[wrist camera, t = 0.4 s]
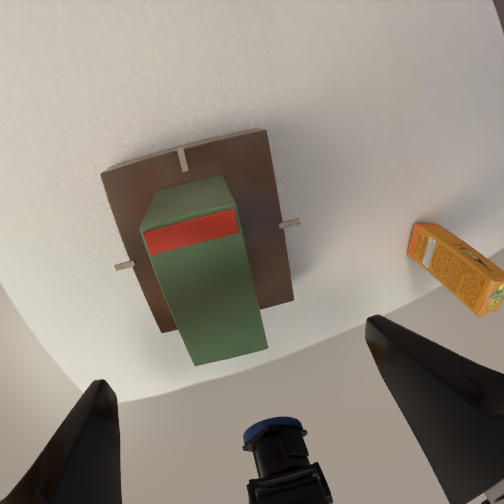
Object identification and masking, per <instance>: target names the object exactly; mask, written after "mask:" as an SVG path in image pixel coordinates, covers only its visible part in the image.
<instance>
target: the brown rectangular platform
mask: <svg viewBox="0 0 504 504" xmlns="http://www.w3.org/2000/svg"><path fill="white" fill-rule="evenodd" d="M221 174H222V175H223V177H224V179H225V181H226V183H227V185H228V187H229V190H230V192H231V194H232V196H233V198H234V200H235V203H236V206H237V211H238V215H239V220H240V224H241V229H242V233H243V238H244V242H245V247H246V251H247V256H248V260H249V265H250V269H251V274H252V278H253V283H254V287H255V292H256V296H257V301H258V305H259V310H260V309H264V308H268V307H272V306H275V305H279V304H283V303H286V302H290V301H293V300H294V295H293V288H292V281H291V275H290V268H289V261H288V255H287V248H286V242H285V235H284V229H283V228H285V227H290V226H294V225H298V224H301V223H300V218H297V219H293V220H289V221H285V222H282V217H281V210H280V204H279V198H278V193H277V187H276V181H275V175H274V169H273V164H272V158H271V153H270V147H269V142H268V136H267V131H266V130H263V129H258V128H256V129H251V130H246V131H241V132H236V133H232V134H227V135H223V136H218V137H214V138H210V139H205V140H201V141H197V142H193V143H189V144H185V145H182V146H178V147H174V148H171V149H167V150H163V151H160V152H156V153H153V154H150V155H146V156H143V157H140V158H137V159H133V160H130V161H127V162H124V163H121V164H118V165H115V166H112V167H110V168H109V169H107V170H106V171H104V172H103V173H101V178H102V182H103V185H104V188H105V191H106V194H107V198H108V201H109V204H110V207H111V210H112V213H113V216H114V218H115V221H116V224H117V227H118V230H119V233H120V235H121V238H122V241H123V243H124V246H125V249H126V251H127V254H128V257H129V259H130V261H128V262H124V263H120V264H117V265H115V269H116V271H117V270H121V269H125V268H128V267H133V269H134V272H135V274H136V277H137V279H138V281H139V284H140V286H141V289H142V291H143V293H144V296H145V298H146V300H147V302H148V305H149V307H150V309H151V311H152V314H153V316H154V318H155V320H156V322H157V325H158V327H159V329H160V331H161V333H165V332H170V331H174V330H178V328H177V325H176V323H175V321H174V318H173V316H172V314H171V311H170V309H169V306H168V304H167V302H166V299H165V297H164V294H163V292H162V289H161V287H160V284H159V281H158V279H157V276H156V274H155V271H154V268H153V266H152V263H151V260H150V258H149V255H148V252H147V249H146V247H145V244H144V241H143V238H142V235H141V232H140V229H139V227H140V225H141V223H142V221H143V218H144V216H145V214H146V212H147V210H148V208H149V205H150V203H151V201H152V199H153V197H154V195H155V193H156V192H157V191H160V190H164V189H167V188H171V187H174V186H178V185H182V184H186V183H189V182H193V181H197V180H201V179H205V178H209V177H213V176H217V175H221Z"/></svg>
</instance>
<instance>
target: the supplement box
mask: <svg viewBox="0 0 504 504" xmlns="http://www.w3.org/2000/svg"><path fill="white" fill-rule="evenodd" d="M407 255H409V256H410V257H411V258H413V259H414V260H415V261H416V262H418V263H419V264H420V265H421V266H422V267H423V268H425V269H426V270H427V271H428V272H429V273H430V274H431V275H433V276H434V277H435V278H436V279H437V280H438V281H440V282H441V283H442V284H443V285H444V286H445V287H446V288H447V289H449V290H450V291H451V292H452V293H453V294H454V295H455V296H457V298H458V299H460V300H461V301H462V302H463V303H464V304H465V305H466V306H467V307H468V308H469V309H470V310H471V311H472V312H473V313H474V314H475V315H476V316H477V317H479V316H482V315H484V314H488V313H490V312H493V311H496V310H497V309H498V308H499V306H500V304H501V302H502V301H503V299H504V272H503V271H502V270H501V269H500V268H499V267H497V266H496V265H495V264H494V263H492V262H491V261H490V260H488V259H487V258H486V257H484V256H483V255H482V254H480V253H479V252H478V251H476V250H475V249H474V248H472V247H471V246H469V245H468V244H467V243H465V242H464V241H462V240H461V239H459V238H458V237H457V236H455V235H454V234H452V233H451V232H449V231H448V230H446V229H445V228H443V227H442V226H440V225H438V224H430V223H415V224H414V226H413V230H412V233H411V237H410V242H409V246H408V250H407Z"/></svg>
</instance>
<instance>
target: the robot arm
mask: <svg viewBox="0 0 504 504" xmlns="http://www.w3.org/2000/svg"><path fill="white" fill-rule="evenodd" d="M365 339H366V342H367V344H368V347H369V349H370V351H371V353H372V356H373V358H374V360H375V363H376V365H377V367H378V369H379V372H380V374H381V376H382V378H383V379H384V382H385V383H386V385H387V387H388V389H389V390H390V392H391V394H392V396H393V397H394V399H395V401H396V402H397V404H398V406H399V408H400V410H401V411H402V413H403V415H404V416H405V418H406V420H407V422H408V424H409V426H410V428H411V429H412V431H413V433H414V435H415V437H416V439H417V440H418V442H419V444H420V446H421V448H422V450H423V451H424V454H425V455H426V457H427V459H428V461H429V463H430V465H431V467H432V469H433V471H434V473H435V475H436V477H437V479H438V481H439V483H440V485H441V487H442V489H443V491H444V493H445V495H446V497H447V499H448V500H449V503H450V504H467V503H468V502H470V501H471V500H473V499H475V498H476V497H477V496H479V495H481V494H482V493H485V495H486V497H487V499H486V500H484V501H483V502H482V503H481V504H504V374H503V373H500V372H497V371H495V370H492V369H489V368H487V367H485V366H482V365H479V364H477V363H475V362H473V361H471V360H469V359H467V358H465V357H463V356H459V355H458V354H456V353H455V352H453V351H451V350H449V349H447V348H445V347H443V346H441V345H439V344H437V343H435V342H433V341H431V340H429V339H427V338H425V337H423V336H421V335H418V334H417V333H415V332H413V331H411V330H409V329H407V328H405V327H403V326H401V325H399V324H397V323H395V322H393V321H391V320H389V319H387V318H385V317H383V316H381V315H374V316H371V317H368V318H367V320H366V329H365ZM305 435H307V431H306V430H302V429H295V428H289V427H283V426H277V425H268V426H267V427H266V428H265V429H263V430H262V431H261V432H260V433H259V434H258V435H256V436H255V437H254V438H253V439H251V440H250V441H249V442H248V443H247V444H245V445H244V446H243V450H244V451H250V452H253V455H254V459H255V464H256V468H257V472H258V476H259V478H258V479H251V480H249V484H248V485H247V490H248V495H249V504H333V500H332V496H331V492H330V489H329V487H328V484H327V482H326V480H325V477H324V475H323V473H322V470H321V468H320V466H319V463H318V462H315V463H314V464H311V465H310V463H309V460H308V457H307V456H309V453H308V451H307V448H306V445H305V442H304V439H303V437H304V436H305ZM0 504H122V496H121V472H120V429H119V418H118V405H117V397H116V394H115V392H114V391H113V390H112V388H111V387H110V386H109V384H108V383H107V382H106V381H105V380H103V379H101V380H94V381H93V382H92V383H91V384H90V386H89V387H88V388H87V390H86V391H85V392H84V394H83V395H82V396H81V398H80V399H79V401H78V402H77V403H76V405H75V406H74V407H73V409H72V410H71V411H70V413H69V414H68V415H67V417H66V418H65V420H64V421H63V422H62V424H61V425H60V427H59V428H58V429H57V431H56V432H55V434H54V435H53V436H52V438H51V440H50V441H49V442H48V444H47V445H46V446H45V448H44V449H43V451H42V452H41V453H40V455H39V456H38V458H37V459H36V461H35V462H34V463H33V465H32V466H31V467H30V469H29V470H28V471H27V473H26V474H25V475H24V476H23V478H22V479H21V480H20V481H19V482H18V484H17V485H16V486H15V487H14V488H13V490H12V491H11V492H10V493H9V495H8V496H7V497H5V498H4V499H3V500H1V501H0Z"/></svg>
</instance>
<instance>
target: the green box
mask: <svg viewBox="0 0 504 504" xmlns="http://www.w3.org/2000/svg"><path fill="white" fill-rule="evenodd" d="M139 229H140V232H141V235H142V238H143V241H144V244H145V247H146V249H147V252H148V255H149V258H150V260H151V263H152V266H153V268H154V271H155V274H156V276H157V279H158V281H159V284H160V287H161V289H162V292H163V294H164V297H165V299H166V302H167V304H168V306H169V309H170V311H171V314H172V316H173V318H174V321H175V323H176V325H177V328H178V330H179V332H180V335H181V337H182V339H183V341H184V344H185V346H186V348H187V350H188V353H189V355H190V357H191V359H192V361H193V363H194V365H195V366H198V365H203V364H207V363H212V362H216V361H220V360H225V359H229V358H233V357H237V356H241V355H245V354H249V353H253V352H257V351H261V350H264V349H268V345H267V341H266V336H265V332H264V327H263V323H262V319H261V314H260V310H259V305H258V301H257V296H256V292H255V287H254V283H253V278H252V274H251V269H250V265H249V260H248V256H247V251H246V247H245V242H244V238H243V233H242V229H241V224H240V220H239V215H238V211H237V206H236V203H235V200H234V198H233V196H232V194H231V192H230V190H229V187H228V185H227V183H226V181H225V179H224V177H223V175H222V174H221V175H217V176H213V177H209V178H205V179H201V180H197V181H193V182H189V183H186V184H182V185H178V186H174V187H171V188H167V189H164V190H160V191H157V192H156V193H155V195H154V197H153V199H152V201H151V203H150V205H149V208H148V210H147V212H146V214H145V216H144V218H143V221H142V223H141V225H140V227H139Z"/></svg>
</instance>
